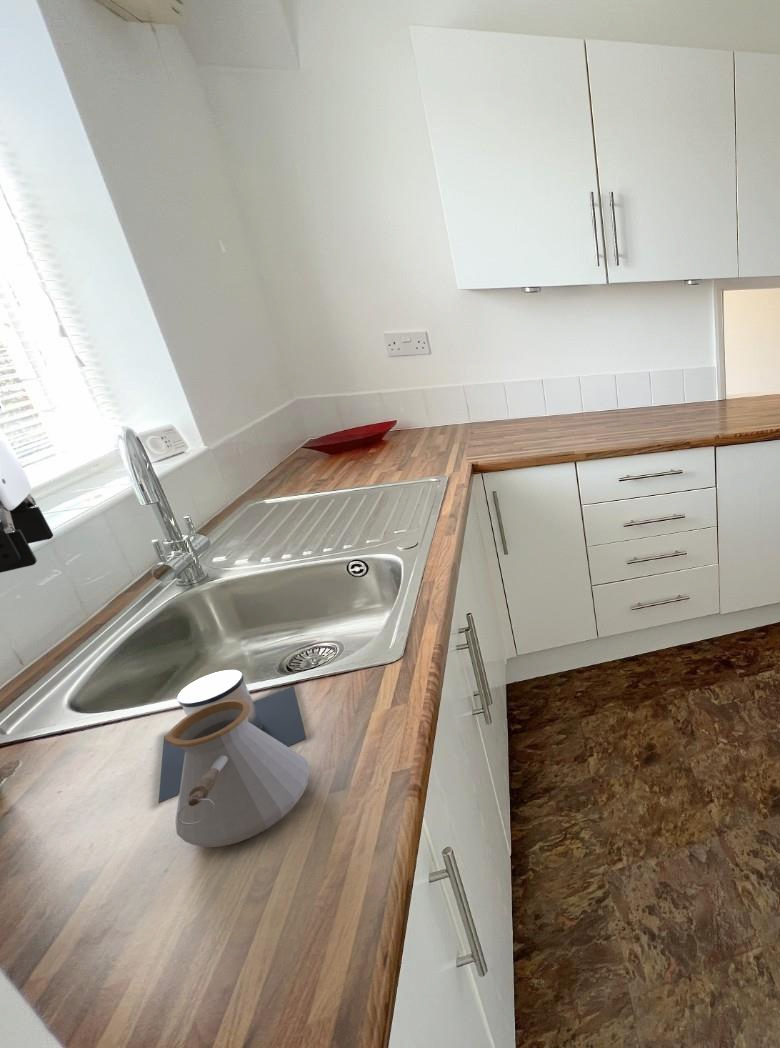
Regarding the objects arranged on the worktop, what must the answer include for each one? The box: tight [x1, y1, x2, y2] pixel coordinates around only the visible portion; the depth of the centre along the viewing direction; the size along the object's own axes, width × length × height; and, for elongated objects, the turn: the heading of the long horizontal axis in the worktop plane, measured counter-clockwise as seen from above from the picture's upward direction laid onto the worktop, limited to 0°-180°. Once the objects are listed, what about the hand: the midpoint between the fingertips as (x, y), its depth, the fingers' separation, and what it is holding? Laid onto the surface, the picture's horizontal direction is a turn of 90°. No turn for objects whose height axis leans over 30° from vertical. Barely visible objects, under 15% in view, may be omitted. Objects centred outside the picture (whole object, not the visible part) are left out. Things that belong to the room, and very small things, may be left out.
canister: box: [176, 669, 263, 730], centre depth 72 cm, size 6×6×8 cm
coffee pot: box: [163, 699, 311, 848], centre depth 57 cm, size 21×12×15 cm, turn 37°
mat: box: [158, 685, 307, 804], centre depth 74 cm, size 14×14×1 cm
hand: (26, 554), depth 66 cm, fingers open, 9 cm apart
